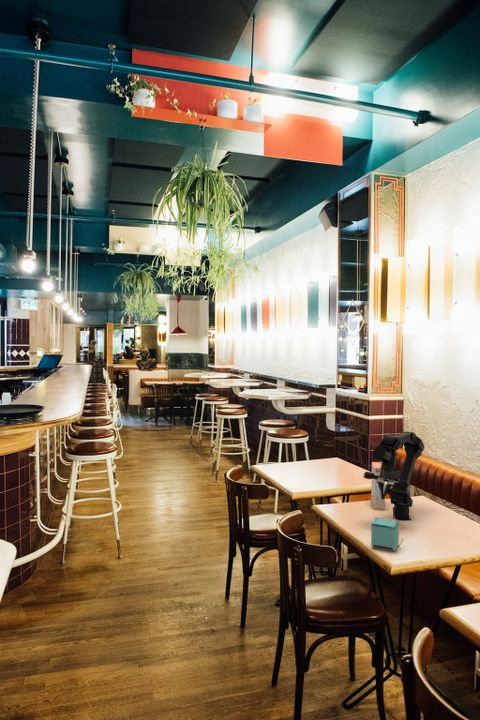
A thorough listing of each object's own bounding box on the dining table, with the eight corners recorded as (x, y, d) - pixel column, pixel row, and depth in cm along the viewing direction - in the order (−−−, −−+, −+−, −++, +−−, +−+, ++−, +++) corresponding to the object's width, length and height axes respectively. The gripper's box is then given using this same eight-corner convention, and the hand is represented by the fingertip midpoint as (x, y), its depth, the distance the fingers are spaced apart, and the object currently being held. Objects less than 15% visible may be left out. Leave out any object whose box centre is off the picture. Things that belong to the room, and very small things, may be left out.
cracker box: (385, 510, 239) (385, 468, 239) (372, 509, 240) (373, 467, 240) (382, 502, 253) (383, 461, 253) (370, 501, 254) (371, 461, 254)
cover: (375, 539, 199) (375, 517, 199) (398, 543, 195) (398, 521, 195) (371, 546, 192) (371, 523, 192) (394, 550, 188) (395, 527, 188)
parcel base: (378, 534, 207) (378, 532, 207) (403, 538, 202) (403, 536, 202) (373, 542, 198) (373, 540, 198) (399, 547, 193) (399, 544, 193)
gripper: (369, 457, 212) (363, 494, 208) (413, 467, 208) (408, 504, 205) (366, 459, 222) (360, 494, 219) (408, 469, 219) (402, 504, 215)
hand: (382, 499), depth 214 cm, fingers closed
